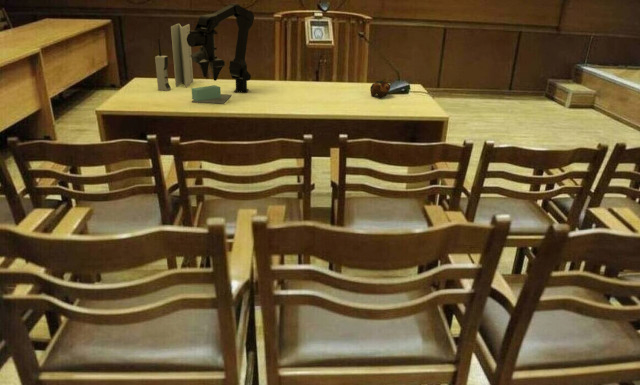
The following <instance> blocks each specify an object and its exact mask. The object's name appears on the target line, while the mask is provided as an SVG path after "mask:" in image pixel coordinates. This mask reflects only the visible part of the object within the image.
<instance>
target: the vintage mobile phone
mask: <svg viewBox="0 0 640 385" xmlns="http://www.w3.org/2000/svg"><path fill="white" fill-rule="evenodd" d="M157 40H158V54H159V55H156V56H154V59H155V61H154V62H155V71H156V81H157V82H156V83H157V90H158V91H162V92H168V91H170V90H171V89H172V88H171V86H170V83H169V75H168V67H169V56H168V55H162V50H161V41H160V38H157Z"/></svg>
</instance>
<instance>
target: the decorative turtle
mask: <svg viewBox="0 0 640 385" xmlns="http://www.w3.org/2000/svg"><path fill="white" fill-rule="evenodd" d="M369 90H370V95H371V97H374V96H376V95H377V96H378V97H379V98H380V99H382V98H384V97H386V96H388V94H389V92H390V90H391V85H390V84H389V83H388V82H386V81H385V80H377V81H374V83H372V84H371V86H370V89H369Z"/></svg>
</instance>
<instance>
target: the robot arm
mask: <svg viewBox="0 0 640 385" xmlns="http://www.w3.org/2000/svg"><path fill="white" fill-rule="evenodd" d="M232 16H233V17H234V18H235V20H236V21H235V22H236V25H237V28H238V30H237V38H236V44H235V52H234V53H235V54H234V58H233V60H230V61H229V66H228V70H229V74H230V76H231V79H232V80H233V79H234V80H235V89H234V90H233V93H242V94H243V93H244V94H245V93H248V92H249V90H250V89H249V88H248V81H251V78H252V75H251V74H250V72H249V71H248V64H247V62H246V52H247V43H248V36H249V31H250V29H251V28H252V26H253V24H254V20H255V14H254V12H253V11H252V10H249V9H246V8H245V7H242V6H241V5H239V4H237V3H230V4H228V5H227V6H225V7H223V8H221V9H219V10H217V11H215V12H214V13H209V14H208V13H207V14H202V15H200V16H199V17H198V20H197V23H196V25H195V28H194V29H193V30H190V31H189V33H190V34H188V36H187V43H188V45H189V46H190V47H191V48H196V47H199V50H198V51H196V52H193V53H191V55H190V56H191V58H192V63H196V64H197V65H198V66H199V67H200V69H201V72H202V76H203V78H207V75H208V69H209V68H210V69H211V72H212V78H213V81H214V82H215V81H216V82H217V79H218V78H219V76H220V73H221V70H222V69H223V68H224V67H225V66H226V62H225V60H224V59H222V58H218V56H217V55H216V50H217V47H216V45H215V35H218V31H216V30H215V29H217V27H218V26H219V24H220V23H221V22H223V21H224V20H226V19H229V18H230V17H232Z"/></svg>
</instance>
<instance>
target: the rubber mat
mask: <svg viewBox="0 0 640 385" xmlns="http://www.w3.org/2000/svg"><path fill="white" fill-rule="evenodd" d="M231 97H232V94H225V93H221V98H214V99H208V100H201V101H196V100H194V99H192V100H191V103H193V104H194V103H200V104H214V105H217V104H218V105H225V103H226V102H227V101H228V100H229V99H230V98H231Z"/></svg>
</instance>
